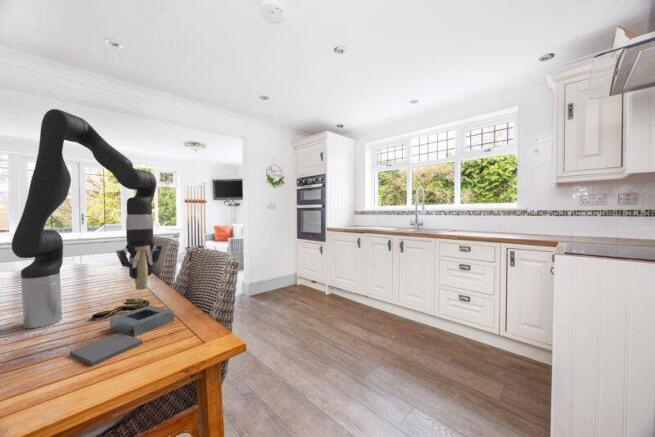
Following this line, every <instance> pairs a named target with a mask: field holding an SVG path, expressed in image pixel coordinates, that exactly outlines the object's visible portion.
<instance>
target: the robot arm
mask: <svg viewBox="0 0 655 437" xmlns="http://www.w3.org/2000/svg"><path fill="white" fill-rule="evenodd" d="M65 141H68V142H72V143H75V144H79V145H81V146H83V147H84V148H87V149H88V150H89V151H90V152H91V153H92V155H93V157H94V159H95V160H96V161H97V163H98V164H100V165H101V166H102V167H103V168H105V169H106V170H107V171H109V172H110V173H111V174H112V175H113V176H114V178H115V179H116V181H117V182H118V183H119V184H120V185H121V186H123V187H124V188H126V189H129V190H132V191H136V192H135V195H134V196H131V197H129V198H128V199H127V200H126V220H125V223H126V224H125V225H126V226H125V227H126V230H125V231H126V234H125V235H126V246H125V248H122V249H120V250H119V249H118V250H116V252H115V253H116V255H117V257H118V260H119V261H120V264H121V266H122V267H125V268H128V271H129V277H130V278H131V280H132V279H134V280H135V279H136V278H137V268H136V265H137V261H138V260H139V257H140V253H141V252H138V251H135V248H134V247H139V246H148V245H149V247H150V248H149V250H147V251H146V255H147V266H148V277H149V276H151V275H152V274H153V264H155V263H158V261H159V259H160V255H161V252H162V249H163V247H162V245H156V244H155V243H154V219H153V218H154V217H153V206H152V203H153V200H154V197H155V193H156V189H157V179H156V177H155V175H154V174H153V173H152V172H150V171H148V170H143V169H138V168H134V165H133V162H132V161H131V160H130V159H129V158H128V157H127V156H125V155H124V154H123V153H121V152H120V151H119V150H117V149H116V148H115V147H114V146H113V145H110V144H109V142H107V141H106V140H105V139H104V138H103V137H102V136H101V135H100V134H99V133H98V132H97V131H96V130H95V129H94V127H93V126H92V125H91V124H90V123H89V122H88V121H87V120H85V119H83V118H82V117H80V116H77V115H74V114H71V113H68V112H67V111H64V110H60V109H57V108H52V109H49V110H48V111H46V113H45V114H44V116H43V118H42V121H41V124H40V134H39V142H38V143H39V145H38V151H37V157H36V161H35V166H34V170H33V172H32V176H31V180H30V183H29V189H28V193H27V198H26V201H25V205H24V208H23V212H22V215H21V217H20V220H19V222H18V225H17V227H16V229H15V231H14V234H13V236H12V241H11V250H12V252H13V254H14V255H15V256H16V257H18V258H20V259H30V258H31V259H32V258H34V259H33V262H31V263H30V264H29V265H27V266H25V267H24V268H23V269H21V271H20V277H21V278H20V281H21V299H22V302H21V303H22V323H23V328H24V329H37V328H42V327H47V326H50V325H53V324H57V323H58V322H60V321H62V320H63V313H62V310H63V309H62V288H61V267H62V265H63V261H64V260H63V256H64V242H63V238H62V236H61V234H60V233H59V232H58V231H56V230H54V229H45V226H46V223H47V222H48V221H49V220H48V219H49V218H50V217H51V215H53V214H54V212H55V211H56V210H57V209H58V208H59V207H60V206H61V205H63V203H64V202H65V201H66V199H67V198H68V195H69V191H70V188H71V182H72V177H71V174H70V171H69V168H68V167H67V164H66V161H65V159H64V155H63V149H64V142H65ZM128 253H129V257H128V256H127V255H128Z"/></svg>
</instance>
